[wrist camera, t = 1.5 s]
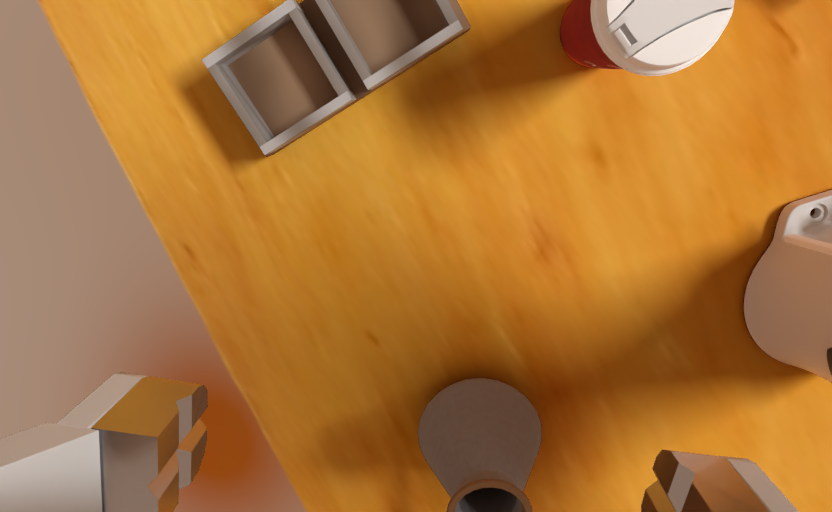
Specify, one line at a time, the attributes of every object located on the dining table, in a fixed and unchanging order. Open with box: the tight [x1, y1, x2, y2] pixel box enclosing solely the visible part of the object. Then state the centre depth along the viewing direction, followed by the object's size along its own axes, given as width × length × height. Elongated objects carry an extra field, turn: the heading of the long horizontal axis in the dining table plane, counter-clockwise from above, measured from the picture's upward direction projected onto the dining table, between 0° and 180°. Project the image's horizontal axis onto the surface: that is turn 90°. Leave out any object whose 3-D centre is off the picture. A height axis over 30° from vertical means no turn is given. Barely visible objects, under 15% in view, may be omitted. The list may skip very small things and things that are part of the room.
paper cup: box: [560, 0, 734, 76], centre depth 34 cm, size 8×8×14 cm
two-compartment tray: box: [202, 0, 471, 157], centre depth 40 cm, size 19×8×4 cm, turn 121°
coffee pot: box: [418, 378, 542, 512], centre depth 46 cm, size 21×12×15 cm, turn 29°
